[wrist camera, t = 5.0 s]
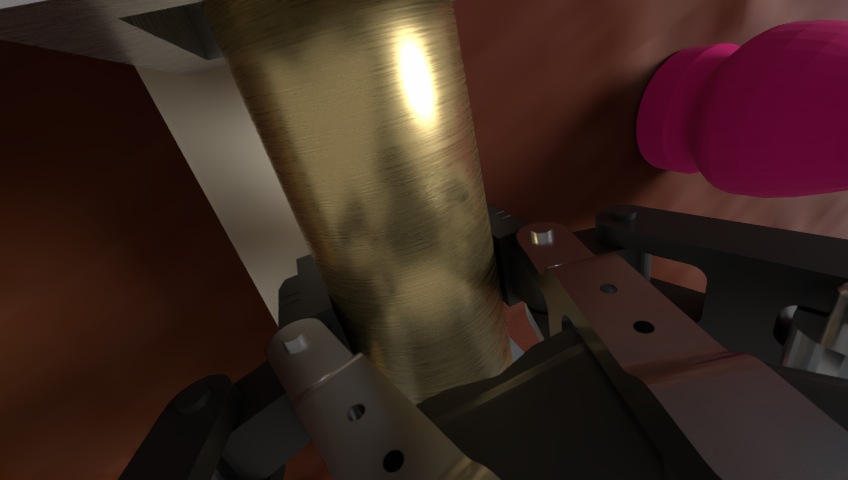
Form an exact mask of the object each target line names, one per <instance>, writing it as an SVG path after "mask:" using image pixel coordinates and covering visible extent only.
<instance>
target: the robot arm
mask: <svg viewBox="0 0 848 480" xmlns="http://www.w3.org/2000/svg"><path fill="white" fill-rule="evenodd" d="M487 210H488V216H489V222H490V228H491V234H492V240H493V245H494V251H495V257H496V263H497V269H498V275H499V281H500V287H501V293H502V299H503V301H504V302H505V303H506V304H507V305H508V306H509V307H510V306H512V305H514V304H516V303H519V302H521V301H523V302H525V307H526V314H527V317H528V319H529V321H530V323H531V325H532V327H533V329H534V331H535V333H536V335H537V337H538V339H539V341H540V342H539V343H537V344H535V345H533V346H532V347H531V348H530V349H529V350H527V351H526V352H525V353H524V354H523V355H522V356H520V357H519V358H518V359H517V360H516V361H515V362H514V363H512V364H511V365H510V366H509V367H508V368H507V369H506V370H504V371H503V372H502V373H501V374H499V375H498V376H495V377H492V378H488V379H484V380H481V381H477V382H473V383H469V384H465V385H461V386H457V387H453V388H449V389H446V390H444V391H442V392H440V393H438V394H436V395H434V396H432V397H430V398H428V399H426V400H424V401H422V402H420V403H418V404H416V405H414V404H413V403H412V402H411V401H410V400H409V399H408V398H407V397H406V396H405V395H404V394H403V393H402V392H401V391H400V390H399V389H398V388H397V387H396V386H395V385H394V384H393V383H392V382H391V381H390V380H389V379H388V378H387V377H386V376H385V375H384V374H383V373H382V372H381V371H380V370H379V369H378V368H377V367H376V366H375V365H374V364H373V363H372V362H371V361H370V360H369V359H368V358H367V357H366V356H365V355H364V354H363V353H361V352H358V353H357V354H355V352H354V350H353V348H352V345H351V343H350V341H349V339H348V336H347V334H346V332H345V330H344V327H343V325H342V323H341V321H340V318H339V316H338V314H337V312H336V309H335V307H334V305H333V302H332V300H331V298H330V296H329V294H328V291H327V289H326V287H325V285H324V282H323V280H322V278H321V276H320V273H319V271H318V269H317V267H316V264H315V262H314V260H313V258H312V255H311V254H309V255H306V256H303V257H301V258H298V259H296V263H297V273H298V275H295V276H293V277H290V278H287V279H285V280H284V282H283V283H282V285H281V287H280V288H279V290H278V300H279V301H278V307H279V309H278V332H277V333H276V334H275V335H274V336H273V337H272V338H271V339H270V340H269V342H268V343H267V346H266V348H265V355H266V358H267V360H266V361H265V362H264V363H263V364H262V365H260V366H259V367H258V368H257V369H255V370H254V371H252V372H251V373H249V374H248V375H246V376H245V377H243V378H242V379H240V380H239V381H237V382H236V383H234V384H233V383H232V381H231V380H230V378H229V377H227V376H225V375H221V374H220V375H211V376H208V377H205V378H203V379H200V380H198V381H196V382H194V383H193V384H191V385H189V386H188V387H186V388H185V389H184V390H182V391H181V392H180V393H179V394H177V395H176V396H175V397H174V398H173V399H172V400H171V401H170V403H169V404H168V405H167V406H166V407H165V409H164V410H163V412H162V413H161V415H160V416H159V418H158V419H157V421H156V422H155V424H154V425H153V427H152V428H151V430H150V432H149V433H148V435H147V436H146V438H145V439H144V441H143V442H142V444H141V445H140V447H139V448H138V450H137V451H136V453H135V454H134V456H133V457H132V459H131V461H130V462H129V464H128V465H127V467H126V468H125V470H124V471H123V473H122V474H121V476H120V477H119V479H118V480H283V477H284V473H285V468H286V462H287V461H288V460H289V459H290V458H292V457H293V456H294V455H295V454H296V453H298V452H299V451H300V450H301V449H302V448H304V447H305V446H306V445H307V444H308V443H310V442H311V441H312V442H313V443H314V445H315V447H316V449H317V451H318V452H319V454H320V456H321V458H322V460H323V461H324V463H325V465H326V467H327V469H328V470H329V472H330V474H331V476H332V478H333V479H334V480H848V240H847V239H841V238H834V237H828V236H822V235H816V234H809V233H803V232H797V231H791V230H785V229H778V228H772V227H766V226H760V225H753V224H747V223H741V222H735V221H728V220H722V219H716V218H710V217H703V216H697V215H691V214H685V213H678V212H672V211H666V210H660V209H653V208H647V207H641V206H634V205H617V206H611V207H607V208H604V209H602V210H600V211H599V212H598V213H597V214H596V216H595V228H591V229H587V230H582V231H577V232H571V231H570V230H569V229H568V228H567V227H565V226H564V225H562V224H559V223H554V222H539V223H533V224H530V225H529V224H528V223H526V222H524V221H522V220H520V219H518V218H516V217H514V216H511V215H510V214H509V213H507V212H503V210H501V209H499V208H497V207H495V206H491V205H487ZM652 255H655V256H659V257H663V258H667V259H671V260H674V261H678V262H682V263H686V264H690V265H693V266H695V267H697V268H699V269H700V270H701V271H702V272H703V273H704V274H705V275H706V278H707V286H706V293H702V292H698V291H695V290H692V289H688V288H685V287H681V286H678V285H675V284H671V283H668V282H665V281H661V280H658V279H655V278H651V277H650V276H651V261H652ZM797 306H798V307H797Z"/></svg>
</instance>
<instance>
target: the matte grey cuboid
mask: <svg viewBox="0 0 848 480" xmlns="http://www.w3.org/2000/svg"><path fill="white" fill-rule="evenodd" d="M202 1H207V0H0V39H1V40H6V41H11V42H17V43H22V44H27V45H32V46H37V47H42V48H47V49H52V50H58V51H63V52H68V53H73V54H78V55H83V56H88V57H94V58H99V59H104V60H109V61H114V62H119V63H124V64H130V65H135V66H140V67H145V68H150V69H155V70H160V71H166V72H171V73H176V74H181V75H186V76H191V75H195V74H199V73H203V72H207V71H212V70H216V69H220V68H224V67H228V66H227V63H226V61H225V59H224V57H223V54H222V52H221V50H220V47H219V45H218V43H217V41H216V38H215V36H214V34H213V32H212V29H211V27H210V25H209V23H208V20H207V18H206V16H205V14H204V11H203V9H202V7H201V5H200V2H202ZM454 1H456V0H452V2H454Z"/></svg>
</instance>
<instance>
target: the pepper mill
mask: <svg viewBox="0 0 848 480" xmlns="http://www.w3.org/2000/svg"><path fill="white" fill-rule="evenodd" d="M636 139H637V143H638V147H639V151H640V153H641V154H642V156H643V157H644V159H645V160H646V161H647V162H648V163H649V164H650V165H652V166H654V167H656V168H660V169H665V170H670V171H675V172H680V173H687V174H690V173H696V172H699V171H700V172H701V173H702V175H703V176H704V177H705V179H706V180H707V181H708V182H709V183H711V184H712V185H713V186H715V187H716V188H718V189H720V190H722V191H725V192H728V193H732V194H739V195H746V196H754V197H762V198H774V197H798V196H807V195H816V194H824V193H831V192H838V191H845V190H848V21H840V20H816V21H798V22H791V23H787V24H783V25H778V26H776V27H774V28H771V29H769V30H767V31H765V32H763V33H761V34H759V35H757V36H756V37H754V38H752V39H751V40H749V41H748V42H746V43H745V44H743V45H742V46H741V47H739V46H738V45H735V44H731V43H720V44H712V45H703V46H695V47H689V48H686V49H683V50H681V51H679V52H677V53H676V54H674V55H673V56H671V57H670V58H669V59H668V60H667V61H666V62H665V63H664V64H663V65H662V66H661V67H660V68H659V69H658V70H657V71H656V73H655V74H654V76H653V77H652V79H651V81H650V82H649V84H648V86H647V87H646V90H645V92H644V94H643V97H642V99H641V102H640V105H639V110H638V115H637V120H636Z"/></svg>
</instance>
